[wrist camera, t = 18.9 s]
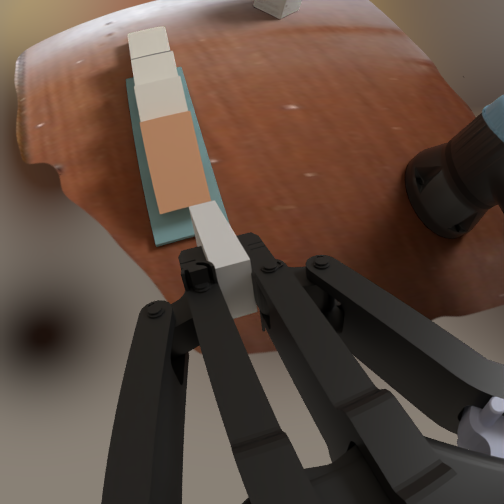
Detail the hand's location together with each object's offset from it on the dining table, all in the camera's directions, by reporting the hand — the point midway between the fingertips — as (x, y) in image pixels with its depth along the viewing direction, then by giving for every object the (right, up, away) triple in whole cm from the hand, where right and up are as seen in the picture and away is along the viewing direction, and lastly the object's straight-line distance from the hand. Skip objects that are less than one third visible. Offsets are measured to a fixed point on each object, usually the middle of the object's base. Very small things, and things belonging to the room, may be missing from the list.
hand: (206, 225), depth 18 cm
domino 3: (-7, +10, +20) cm, 23 cm away
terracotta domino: (-5, +4, +19) cm, 20 cm away
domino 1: (-11, +22, +23) cm, 34 cm away
